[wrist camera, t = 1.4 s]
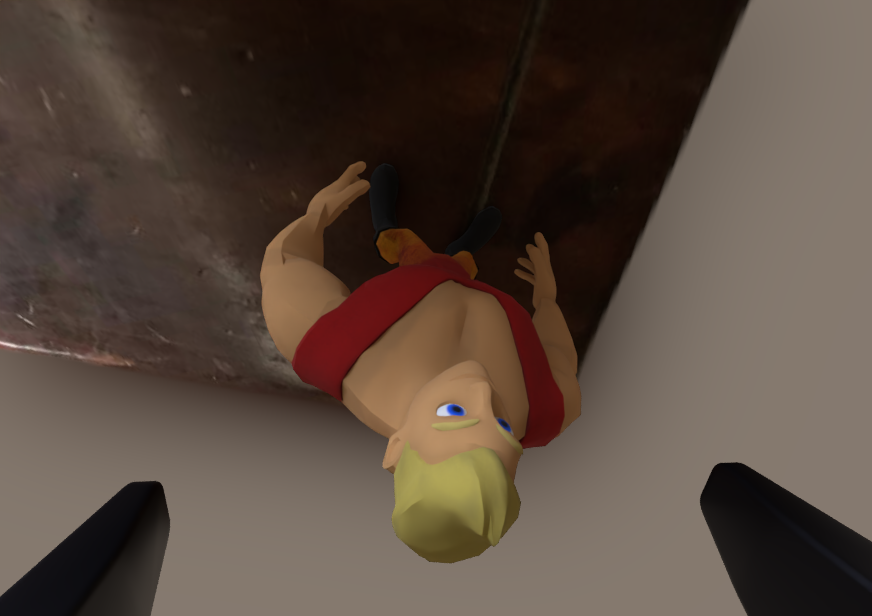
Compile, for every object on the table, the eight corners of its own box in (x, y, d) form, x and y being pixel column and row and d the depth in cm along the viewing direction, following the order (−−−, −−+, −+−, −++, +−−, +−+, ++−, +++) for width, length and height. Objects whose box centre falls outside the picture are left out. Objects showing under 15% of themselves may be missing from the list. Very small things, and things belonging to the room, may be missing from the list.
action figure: (558, 218, 21) (811, 548, 8) (517, 294, 23) (671, 678, 9) (326, 123, 19) (137, 353, 6) (298, 213, 20) (97, 559, 7)
